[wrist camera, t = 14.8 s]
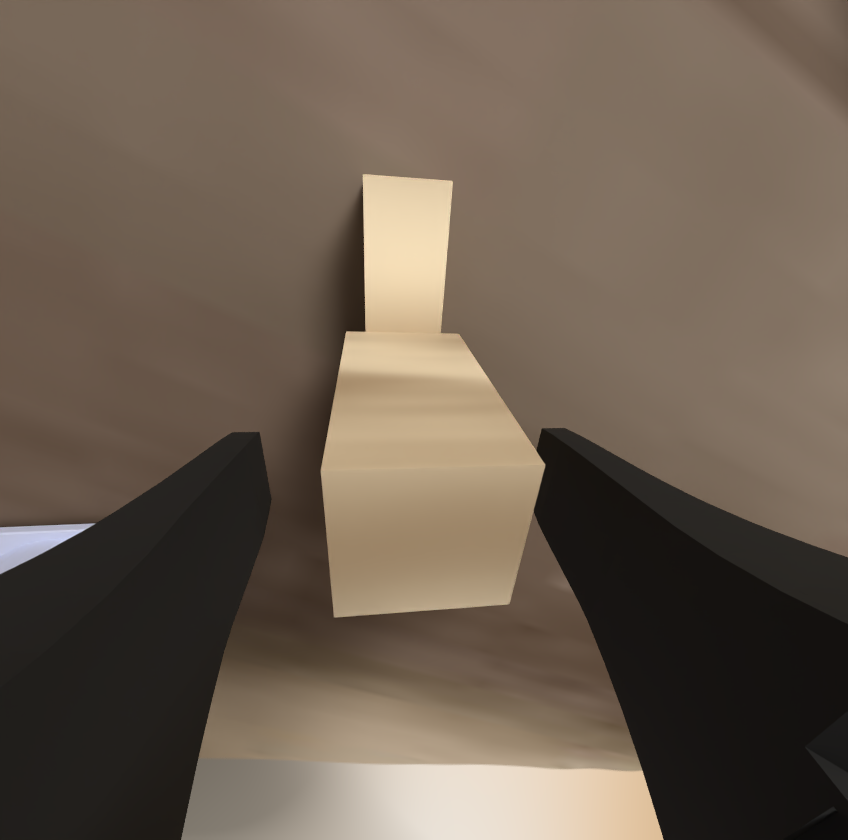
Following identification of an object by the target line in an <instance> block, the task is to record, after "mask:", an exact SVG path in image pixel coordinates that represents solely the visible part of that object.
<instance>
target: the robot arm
mask: <svg viewBox="0 0 848 840" xmlns="http://www.w3.org/2000/svg"><path fill="white" fill-rule="evenodd" d="M537 453H538V454H539V456H540V458H541V459H542V461H543V462H544V464H545V469H544V472H543V476H542V480H541V484H540V488H539V492H538V495H537V499H536V503H535V507H534V513H535V516H536V518H537V521H538V524H539V526H540V528H541V530H542V532H543V534H544V536H545V538H546V540H547V542H548V544H549V546H550V548H551V550H552V552H553V553H554V555H555V557H556V559H557V561H558V563H559V565H560V567H561V569H562V571H563V573H564V574H565V576H566V578H567V580H568V582H569V584H570V586H571V588H572V590H573V592H574V594H575V596H576V597H577V599H578V601H579V603H580V605H581V608H582V610H583V612H584V614H585V616H586V618H587V620H588V623H589V625H590V628H591V630H592V633H593V635H594V638H595V640H596V643H597V645H598V648H599V650H600V653H601V655H602V658H603V660H604V663H605V665H606V668H607V671H608V673H609V676H610V679H611V681H612V684H613V687H614V689H615V692H616V695H617V697H618V700H619V703H620V706H621V708H622V711H623V714H624V717H625V720H626V723H627V726H628V729H629V732H630V735H631V738H632V740H633V743H634V746H635V749H636V752H637V755H638V758H639V761H640V764H641V767H642V770H643V773H644V776H645V780H646V783H647V786H648V790H649V793H650V796H651V799H652V803H653V805H654V809H655V812H656V815H657V819H658V822H659V825H660V829H661V832H662V835H663V839H664V840H848V557H845V556H842V555H839V554H836V553H833V552H830V551H827V550H824V549H821V548H818V547H816V546H813V545H810V544H807V543H805V542H802V541H799V540H797V539H794V538H791V537H788V536H786V535H783V534H780V533H778V532H775V531H772V530H770V529H767V528H765V527H762V526H760V525H757V524H755V523H752V522H750V521H747V520H745V519H742V518H740V517H738V516H736V515H733V514H731V513H729V512H726V511H724V510H722V509H720V508H717V507H715V506H713V505H710V504H708V503H706V502H704V501H702V500H700V499H697V498H695V497H693V496H691V495H689V494H687V493H685V492H683V491H681V490H679V489H677V488H675V487H673V486H671V485H669V484H667V483H665V482H663V481H661V480H660V479H658V478H656V477H654V476H652V475H650V474H648V473H646V472H645V471H643V470H641V469H639V468H637V467H636V466H634V465H632V464H630V463H628V462H627V461H625V460H623V459H621V458H619V457H618V456H616V455H614V454H612V453H611V452H609V451H607V450H605V449H604V448H602V447H600V446H598V445H596V444H595V443H593V442H591V441H589V440H587V439H586V438H584V437H582V436H580V435H578V434H576V433H574V432H572V431H569V430H567V429H565V428H543V429H542V430H541V434H540V438H539V443H538V447H537ZM270 504H271V494H270V489H269V483H268V477H267V472H266V466H265V460H264V455H263V449H262V444H261V438H260V432H234V433H231V434H229V435H227V436H226V437H224V438H223V439H221V440H220V441H218V442H217V443H215V444H214V445H213V446H211V447H210V448H208V449H207V450H206V451H204V452H203V453H201V454H200V455H199V456H197V457H196V458H194V459H193V460H192V461H190V462H189V463H187V464H186V465H185V466H183V467H182V468H180V469H179V470H178V471H176V472H175V473H173V474H172V475H170V476H169V477H168V478H166V479H165V480H163V481H162V482H160V483H159V484H157V485H156V486H154V487H153V488H151V489H150V490H148V491H147V492H145V493H143V494H142V495H140V496H139V497H137V498H136V499H134V500H133V501H131V502H130V503H128V504H126V505H125V506H123V507H122V508H120V509H119V510H117V511H116V512H114V513H112V514H111V515H109V516H108V517H106V518H104V519H103V520H101V521H99V522H97V523H94V524H69V525H45V526H21V527H0V840H181V837H182V832H183V827H184V823H185V818H186V813H187V808H188V804H189V799H190V794H191V789H192V784H193V780H194V775H195V771H196V766H197V761H198V757H199V753H200V748H201V744H202V740H203V735H204V731H205V727H206V723H207V718H208V714H209V710H210V705H211V701H212V697H213V693H214V689H215V685H216V681H217V677H218V673H219V669H220V665H221V661H222V657H223V653H224V650H225V647H226V643H227V640H228V637H229V634H230V631H231V628H232V625H233V622H234V619H235V616H236V614H237V611H238V608H239V605H240V602H241V600H242V597H243V594H244V591H245V588H246V586H247V583H248V580H249V577H250V575H251V572H252V569H253V566H254V563H255V560H256V558H257V555H258V552H259V549H260V546H261V543H262V540H263V537H264V533H265V528H266V524H267V519H268V514H269V509H270Z"/></svg>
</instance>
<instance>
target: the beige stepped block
mask: <svg viewBox="0 0 848 840" xmlns="http://www.w3.org/2000/svg"><path fill="white" fill-rule="evenodd" d="M452 185H453V181H445V180H432V179H419V178H405V177H392V176H379V175H365V174H363V209H364V269H365V329H366V332H349V331H346V335H345V341H344V346H343V352H342V357H341V363H340V368H339V373H338V379H337V384H336V390H335V395H334V401H333V406H332V412H331V417H330V423H329V428H328V434H327V439H326V445H325V450H324V456H323V461H322V467H321V479H322V490H323V501H324V512H325V523H326V534H327V545H328V556H329V567H330V578H331V589H332V600H333V611H334V617H347V616H360V615H374V614H387V613H400V612H413V611H426V610H440V609H453V608H466V607H479V606H492V605H506V604H509V603H510V599H511V595H512V591H513V587H514V584H515V580H516V576H517V572H518V568H519V564H520V561H521V557H522V553H523V549H524V545H525V541H526V538H527V534H528V530H529V526H530V522H531V518H532V515H533V511H534V507H535V503H536V499H537V495H538V492H539V488H540V484H541V480H542V476H543V472H544V469H545V464H544V462H543V461H542V459H541V458H540V456H539V454H538V453H537V451H536V450H535V448H534V447H533V445H532V444H531V442H530V441H529V439H528V438H527V436H526V435H525V433H524V432H523V430H522V429H521V427H520V426H519V424H518V423H517V421H516V420H515V418H514V417H513V415H512V414H511V412H510V411H509V409H508V408H507V406H506V405H505V403H504V402H503V400H502V399H501V397H500V395H499V394H498V392H497V391H496V389H495V388H494V386H493V385H492V383H491V382H490V380H489V379H488V377H487V376H486V374H485V373H484V371H483V370H482V368H481V367H480V365H479V364H478V362H477V361H476V359H475V358H474V356H473V355H472V353H471V352H470V350H469V349H468V347H467V346H466V344H465V343H464V341H463V340H462V338H461V336H460V335H459V334H444V333H441V322H442V309H443V297H444V285H445V272H446V260H447V247H448V235H449V222H450V210H451V197H452Z"/></svg>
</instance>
